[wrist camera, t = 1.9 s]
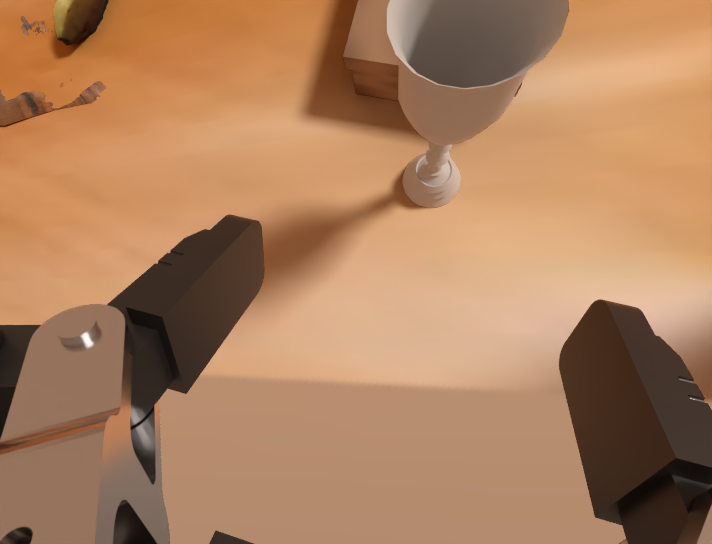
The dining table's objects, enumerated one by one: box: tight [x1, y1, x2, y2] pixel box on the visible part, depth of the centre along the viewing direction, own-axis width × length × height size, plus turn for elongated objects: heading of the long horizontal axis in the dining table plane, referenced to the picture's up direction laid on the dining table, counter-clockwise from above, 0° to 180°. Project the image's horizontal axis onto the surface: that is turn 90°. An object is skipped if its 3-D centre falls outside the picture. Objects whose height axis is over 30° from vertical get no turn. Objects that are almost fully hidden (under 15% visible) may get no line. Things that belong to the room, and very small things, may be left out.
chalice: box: [387, 0, 569, 208], centre depth 24 cm, size 7×7×18 cm
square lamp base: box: [343, 0, 522, 101], centre depth 32 cm, size 14×13×5 cm
